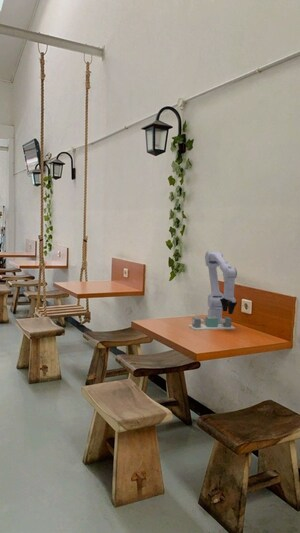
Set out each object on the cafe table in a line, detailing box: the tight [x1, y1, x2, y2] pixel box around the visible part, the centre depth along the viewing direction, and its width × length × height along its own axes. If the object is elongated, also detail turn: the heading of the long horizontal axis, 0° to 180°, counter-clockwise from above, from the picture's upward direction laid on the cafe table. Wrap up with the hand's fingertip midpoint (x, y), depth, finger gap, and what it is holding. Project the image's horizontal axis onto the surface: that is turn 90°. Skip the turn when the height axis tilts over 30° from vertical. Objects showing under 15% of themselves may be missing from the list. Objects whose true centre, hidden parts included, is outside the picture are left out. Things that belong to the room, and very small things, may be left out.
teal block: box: [204, 316, 218, 327], centre depth 240 cm, size 6×4×5 cm, turn 104°
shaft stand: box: [188, 316, 236, 331], centre depth 240 cm, size 9×25×6 cm, turn 104°
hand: (227, 312), depth 238 cm, fingers open, 7 cm apart
